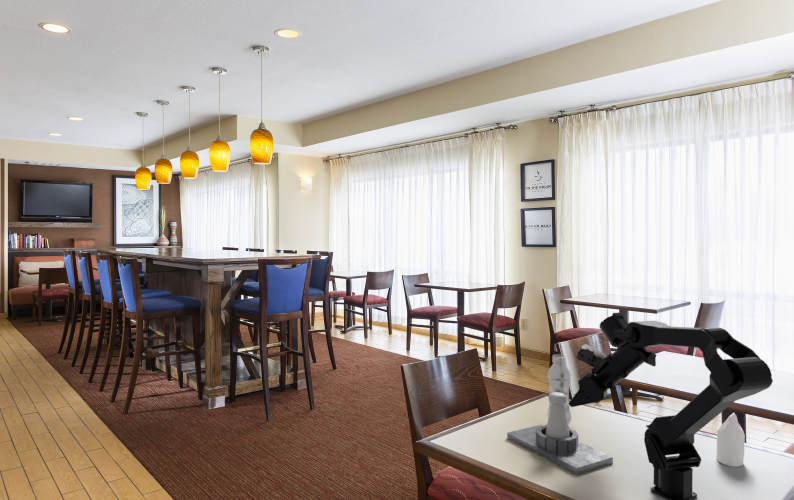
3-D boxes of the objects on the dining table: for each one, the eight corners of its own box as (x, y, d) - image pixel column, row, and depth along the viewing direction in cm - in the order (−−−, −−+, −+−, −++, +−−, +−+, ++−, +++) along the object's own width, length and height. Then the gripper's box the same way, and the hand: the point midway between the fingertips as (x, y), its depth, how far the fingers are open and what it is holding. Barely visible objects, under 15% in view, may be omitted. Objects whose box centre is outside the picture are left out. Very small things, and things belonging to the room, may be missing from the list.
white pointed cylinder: (716, 406, 126) (744, 410, 123) (716, 454, 126) (743, 459, 124) (717, 413, 121) (745, 417, 118) (716, 463, 121) (745, 469, 118)
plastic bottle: (547, 428, 144) (547, 358, 144) (547, 420, 151) (547, 352, 150) (571, 430, 143) (571, 359, 142) (570, 422, 149) (570, 353, 148)
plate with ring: (612, 463, 122) (612, 444, 122) (576, 474, 117) (576, 455, 117) (540, 429, 143) (540, 414, 143) (507, 438, 138) (507, 421, 138)
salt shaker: (571, 450, 126) (571, 397, 126) (546, 448, 128) (546, 396, 127) (567, 440, 132) (567, 390, 132) (544, 439, 133) (544, 389, 133)
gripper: (606, 329, 131) (563, 365, 138) (588, 342, 116) (540, 383, 122) (639, 363, 127) (593, 400, 134) (625, 382, 112) (573, 422, 118)
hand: (575, 400), depth 127 cm, fingers open, 9 cm apart
